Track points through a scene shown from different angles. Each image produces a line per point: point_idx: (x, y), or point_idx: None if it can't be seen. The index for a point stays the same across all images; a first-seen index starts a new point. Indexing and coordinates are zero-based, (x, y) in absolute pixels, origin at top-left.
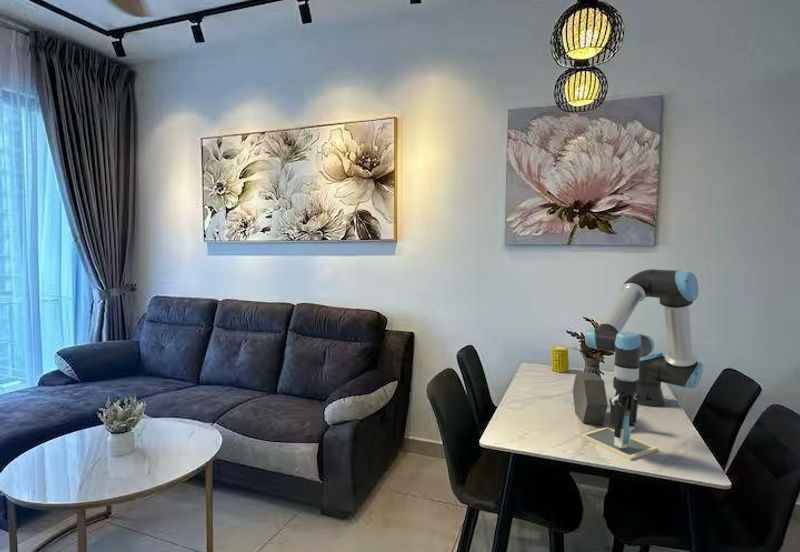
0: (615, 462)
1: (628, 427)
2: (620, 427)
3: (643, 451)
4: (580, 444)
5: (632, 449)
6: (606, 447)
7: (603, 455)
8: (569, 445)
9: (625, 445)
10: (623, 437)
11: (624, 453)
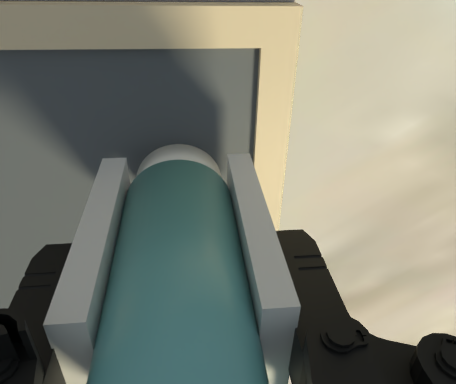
0: (447, 46)
1: (156, 315)
2: (366, 341)
3: (23, 31)
4: (357, 312)
5: (92, 123)
6: (275, 229)
7: (395, 167)
8: (424, 321)
9: (189, 159)
10: (224, 220)
11: (264, 96)
